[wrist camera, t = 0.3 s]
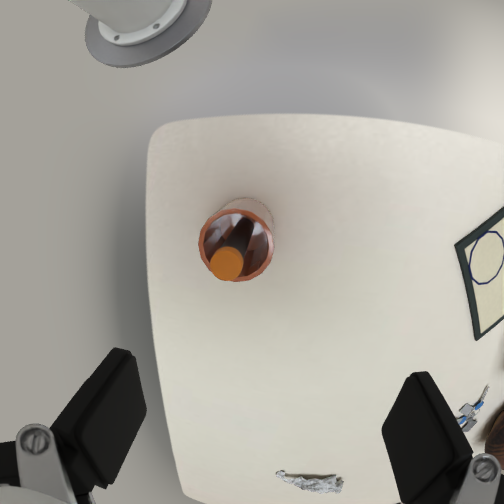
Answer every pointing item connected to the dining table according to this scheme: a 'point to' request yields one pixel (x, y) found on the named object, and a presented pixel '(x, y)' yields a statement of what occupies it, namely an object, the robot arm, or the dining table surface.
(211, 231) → the pen cup
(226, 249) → the marker
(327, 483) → the paper
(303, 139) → the dining table surface
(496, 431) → the jug
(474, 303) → the drawing mat
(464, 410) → the key chain
